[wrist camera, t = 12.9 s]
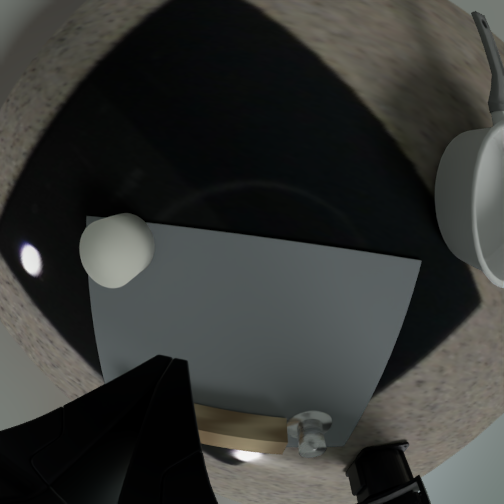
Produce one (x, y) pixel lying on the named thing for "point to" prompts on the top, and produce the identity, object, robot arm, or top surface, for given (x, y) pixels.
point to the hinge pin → (310, 431)
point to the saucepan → (476, 181)
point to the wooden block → (241, 430)
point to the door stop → (116, 249)
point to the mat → (260, 321)
